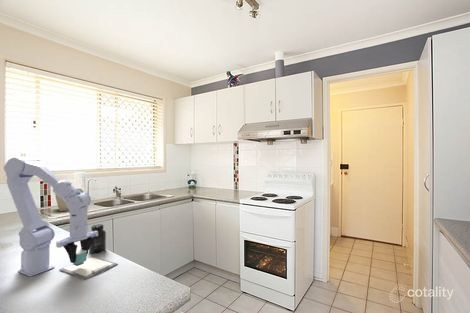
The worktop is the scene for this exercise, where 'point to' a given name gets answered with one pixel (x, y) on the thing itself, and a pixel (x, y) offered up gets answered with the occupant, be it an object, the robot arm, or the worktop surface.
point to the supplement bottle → (98, 240)
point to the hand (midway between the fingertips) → (78, 259)
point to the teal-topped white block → (80, 257)
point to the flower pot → (63, 202)
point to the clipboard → (89, 268)
